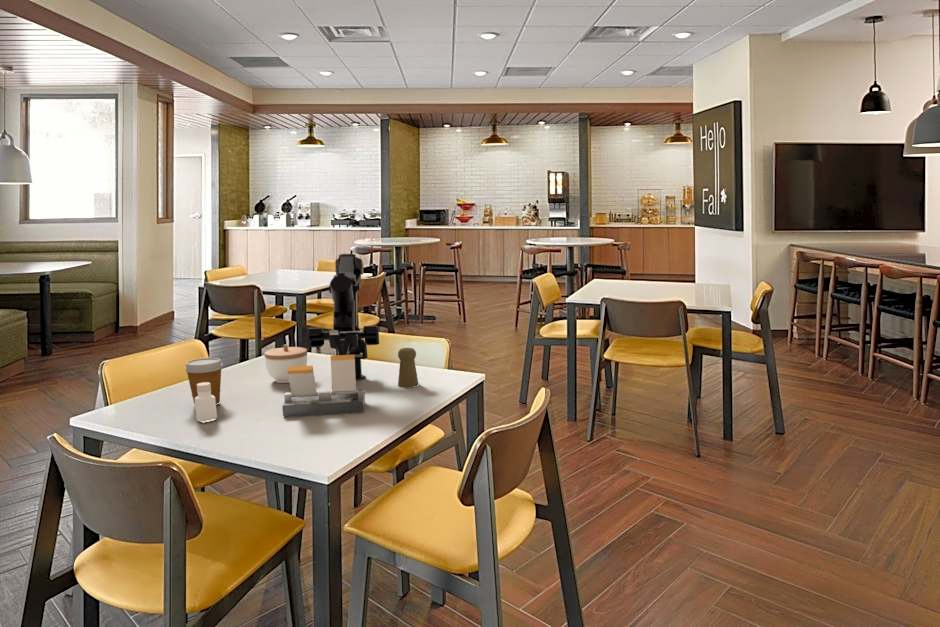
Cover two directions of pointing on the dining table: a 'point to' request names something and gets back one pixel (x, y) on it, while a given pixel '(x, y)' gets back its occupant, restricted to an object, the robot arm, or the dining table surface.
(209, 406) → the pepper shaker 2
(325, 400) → the light switch frame
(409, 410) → the dining table surface
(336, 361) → the panel
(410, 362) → the pepper shaker
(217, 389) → the disposable coffee cup
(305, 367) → the white orange-topped slab
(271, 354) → the lidded bowl
